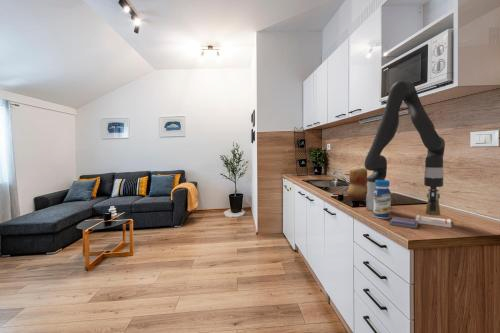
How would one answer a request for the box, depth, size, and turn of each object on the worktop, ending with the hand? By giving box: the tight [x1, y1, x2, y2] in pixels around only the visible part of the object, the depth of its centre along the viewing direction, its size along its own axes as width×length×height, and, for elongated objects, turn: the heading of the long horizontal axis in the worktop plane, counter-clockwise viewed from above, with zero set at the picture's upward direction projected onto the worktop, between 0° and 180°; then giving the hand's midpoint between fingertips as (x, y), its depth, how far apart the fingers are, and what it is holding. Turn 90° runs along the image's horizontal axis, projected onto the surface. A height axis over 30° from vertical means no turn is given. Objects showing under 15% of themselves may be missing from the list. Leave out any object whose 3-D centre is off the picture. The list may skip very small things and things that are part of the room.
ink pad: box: [388, 216, 419, 230], centre depth 118 cm, size 11×10×2 cm
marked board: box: [414, 215, 452, 229], centre depth 120 cm, size 14×12×1 cm
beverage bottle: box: [372, 179, 392, 220], centre depth 130 cm, size 8×8×20 cm
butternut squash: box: [346, 165, 368, 203], centre depth 170 cm, size 14×13×25 cm
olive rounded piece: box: [425, 192, 441, 217], centre depth 119 cm, size 6×6×11 cm
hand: (432, 210), depth 120 cm, fingers closed on olive rounded piece, 4 cm apart
